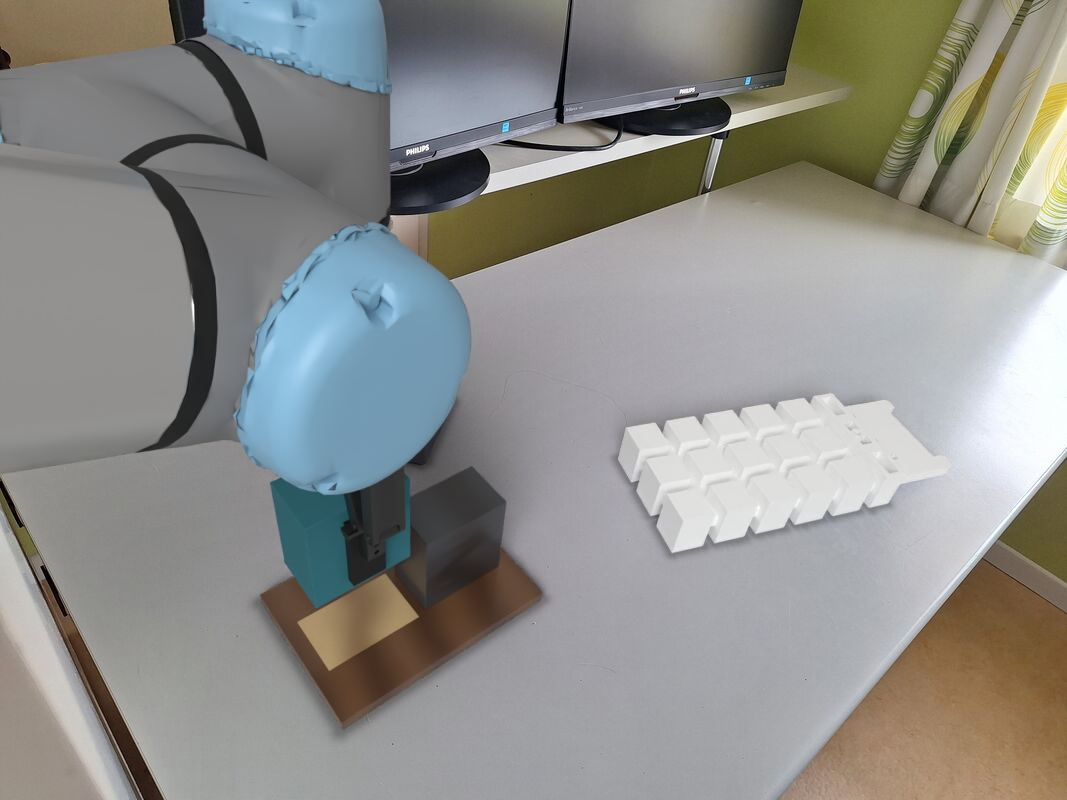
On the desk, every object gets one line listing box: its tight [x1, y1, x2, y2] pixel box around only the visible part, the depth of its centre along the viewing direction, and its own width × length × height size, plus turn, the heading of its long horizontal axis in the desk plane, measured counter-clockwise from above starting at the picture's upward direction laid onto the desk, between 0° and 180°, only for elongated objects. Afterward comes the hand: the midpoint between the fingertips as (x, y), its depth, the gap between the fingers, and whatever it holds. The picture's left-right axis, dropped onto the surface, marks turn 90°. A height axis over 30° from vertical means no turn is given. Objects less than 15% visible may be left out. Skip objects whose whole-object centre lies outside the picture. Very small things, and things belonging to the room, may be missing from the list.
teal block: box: [269, 471, 411, 608], centre depth 55 cm, size 8×5×9 cm, turn 130°
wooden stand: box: [259, 465, 543, 731], centre depth 64 cm, size 20×14×10 cm
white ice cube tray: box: [617, 392, 952, 554], centre depth 83 cm, size 13×5×35 cm
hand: (347, 547), depth 57 cm, fingers closed on teal block, 5 cm apart
